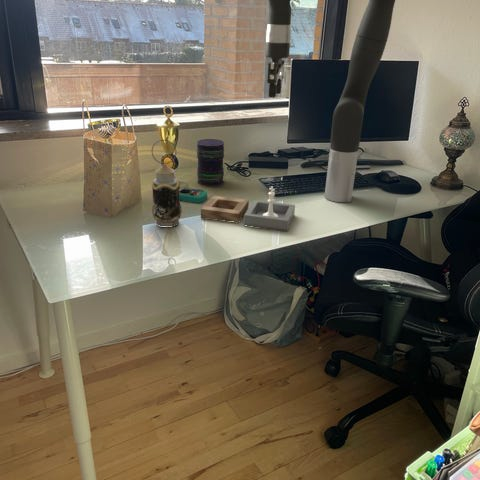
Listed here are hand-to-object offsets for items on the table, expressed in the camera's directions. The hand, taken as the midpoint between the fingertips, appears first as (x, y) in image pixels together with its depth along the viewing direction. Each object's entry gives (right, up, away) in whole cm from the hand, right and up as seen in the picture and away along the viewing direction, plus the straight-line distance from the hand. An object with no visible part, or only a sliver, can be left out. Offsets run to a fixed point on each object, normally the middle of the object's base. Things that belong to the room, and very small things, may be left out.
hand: (274, 95), depth 149 cm
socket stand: (-16, -38, -4) cm, 42 cm away
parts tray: (-2, -41, -8) cm, 42 cm away
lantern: (-33, -42, -12) cm, 55 cm away
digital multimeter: (-30, -33, +8) cm, 45 cm away
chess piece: (-2, -40, -9) cm, 41 cm away
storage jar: (-22, -25, +22) cm, 41 cm away
